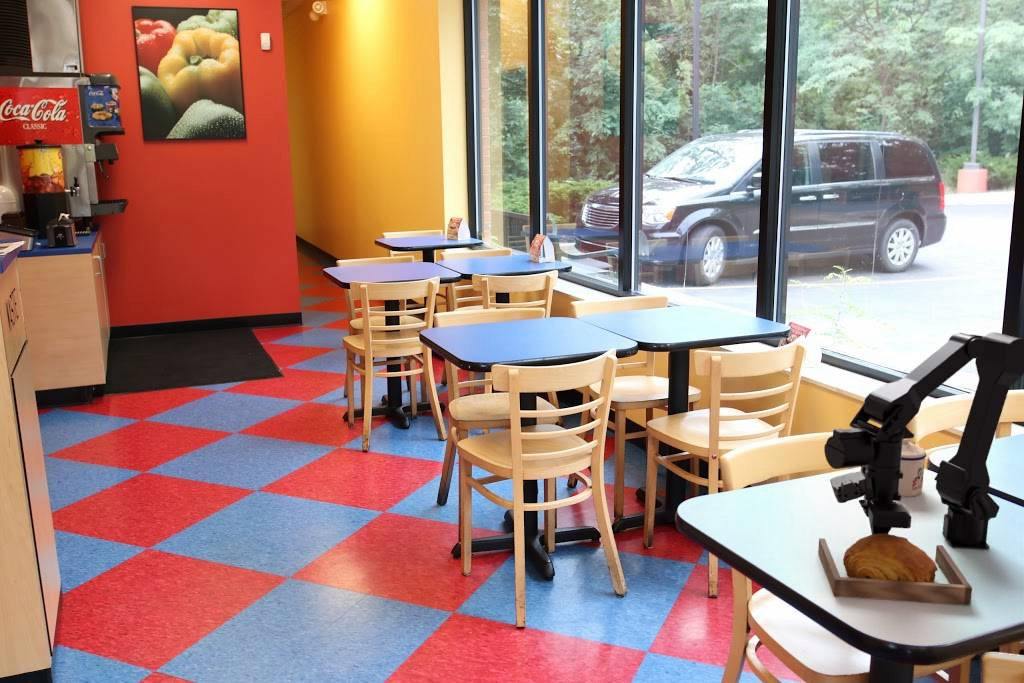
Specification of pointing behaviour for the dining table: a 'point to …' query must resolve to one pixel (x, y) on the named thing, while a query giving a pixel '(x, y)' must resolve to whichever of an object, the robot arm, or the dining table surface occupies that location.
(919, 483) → the teacup with lid
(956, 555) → the dining table surface
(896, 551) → the croissant
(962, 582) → the walnut u-shaped frame
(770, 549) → the dining table surface
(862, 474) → the robot arm
